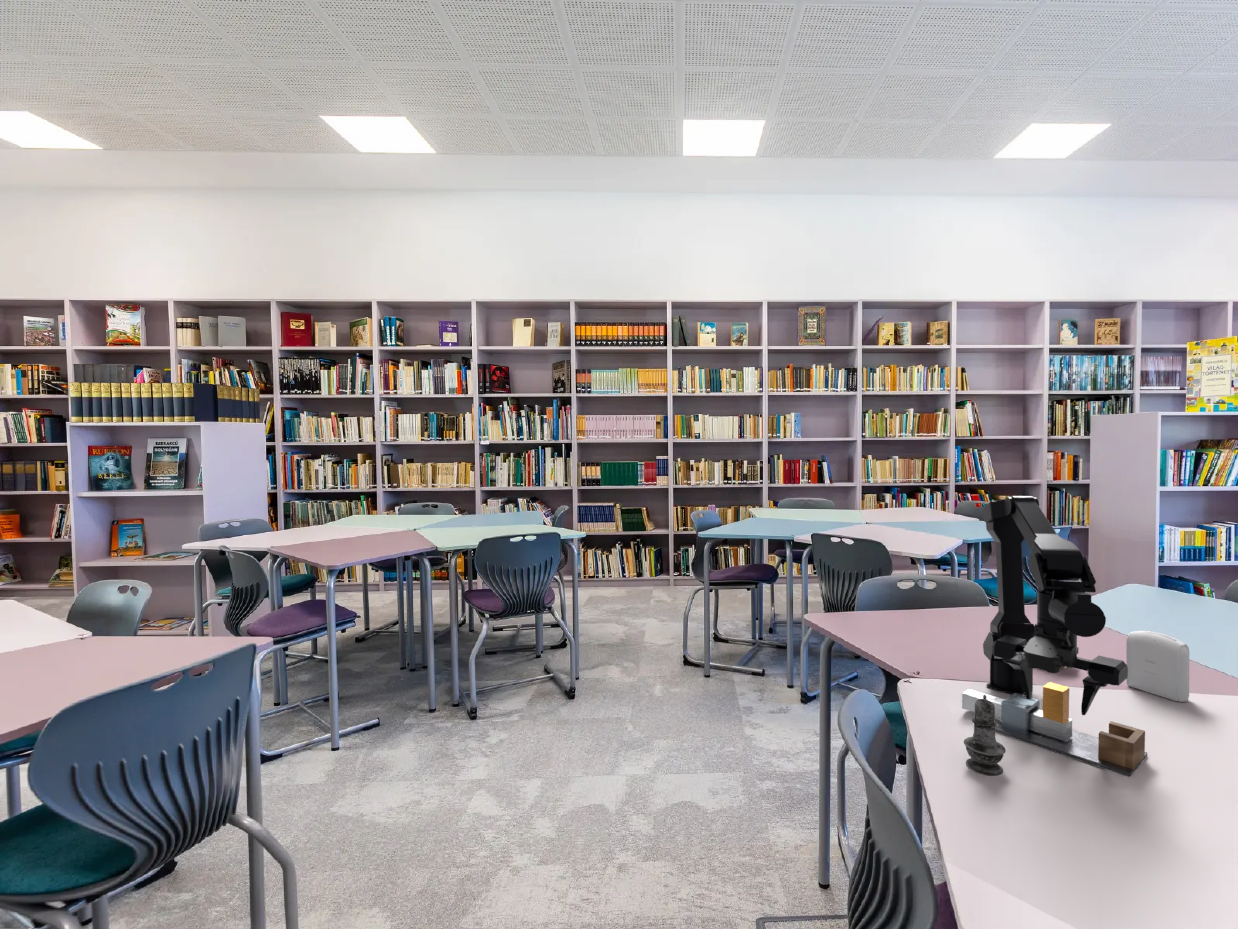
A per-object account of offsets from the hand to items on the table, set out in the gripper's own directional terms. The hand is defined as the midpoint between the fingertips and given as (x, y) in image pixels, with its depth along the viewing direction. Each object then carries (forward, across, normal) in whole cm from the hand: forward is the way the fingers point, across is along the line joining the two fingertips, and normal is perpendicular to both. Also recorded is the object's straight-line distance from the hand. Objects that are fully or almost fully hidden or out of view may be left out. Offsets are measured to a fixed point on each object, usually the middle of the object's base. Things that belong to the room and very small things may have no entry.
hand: (1055, 706), depth 108 cm
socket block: (+6, +9, 0) cm, 11 cm away
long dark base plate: (+6, +2, 0) cm, 6 cm away
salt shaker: (+6, -4, -19) cm, 20 cm away
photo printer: (+6, +6, +38) cm, 39 cm away
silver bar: (+5, -7, 0) cm, 8 cm away
